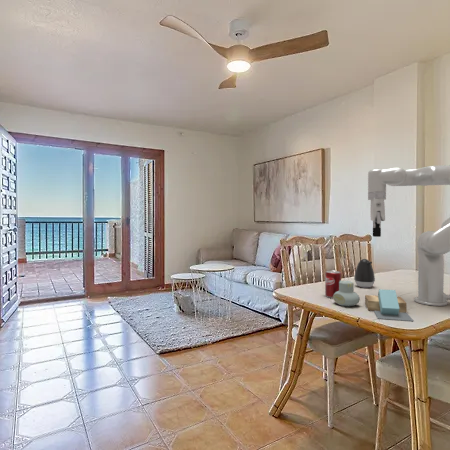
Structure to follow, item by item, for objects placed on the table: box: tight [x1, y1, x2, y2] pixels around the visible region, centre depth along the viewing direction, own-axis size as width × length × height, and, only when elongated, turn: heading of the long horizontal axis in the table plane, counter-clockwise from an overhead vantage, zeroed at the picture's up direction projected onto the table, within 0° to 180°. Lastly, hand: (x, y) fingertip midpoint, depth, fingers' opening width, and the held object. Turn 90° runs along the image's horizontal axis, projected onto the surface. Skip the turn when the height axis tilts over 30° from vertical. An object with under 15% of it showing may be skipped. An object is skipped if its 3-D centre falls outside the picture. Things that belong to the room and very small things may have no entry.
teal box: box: [377, 289, 400, 315], centre depth 129 cm, size 6×9×4 cm
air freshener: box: [332, 280, 361, 307], centre depth 142 cm, size 11×8×10 cm
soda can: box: [324, 270, 342, 299], centre depth 156 cm, size 7×7×12 cm
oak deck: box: [364, 294, 408, 314], centre depth 136 cm, size 14×10×4 cm
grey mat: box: [373, 311, 414, 322], centre depth 126 cm, size 12×10×1 cm
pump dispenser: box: [353, 258, 376, 289], centre depth 176 cm, size 10×10×15 cm
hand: (376, 236), depth 150 cm, fingers closed
